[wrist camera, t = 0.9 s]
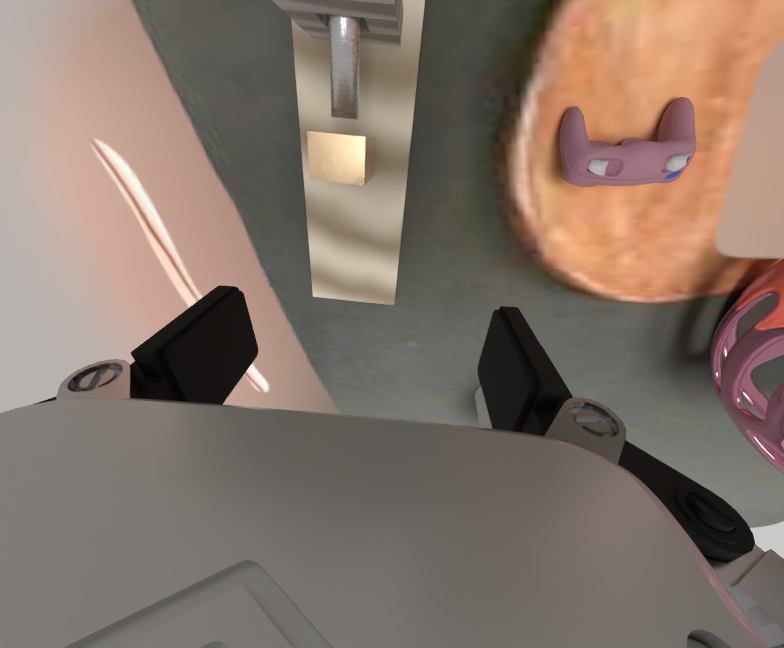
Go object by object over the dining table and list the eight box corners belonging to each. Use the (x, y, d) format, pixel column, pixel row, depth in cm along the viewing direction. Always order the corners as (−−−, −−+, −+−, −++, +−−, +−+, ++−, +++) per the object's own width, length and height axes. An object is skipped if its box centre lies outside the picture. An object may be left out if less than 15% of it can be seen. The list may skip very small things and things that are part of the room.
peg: (320, -128, 17) (282, -237, 12) (386, -122, 17) (375, -228, 12) (330, 171, 26) (310, 180, 21) (373, 176, 26) (364, 185, 21)
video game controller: (543, 156, 28) (563, 202, 25) (563, 102, 24) (589, 147, 21) (651, 148, 27) (687, 195, 24) (690, 91, 23) (740, 136, 20)
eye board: (285, -149, 19) (180, -382, 10) (438, -135, 19) (458, -358, 10) (316, 291, 36) (287, 337, 28) (394, 299, 36) (389, 348, 28)
